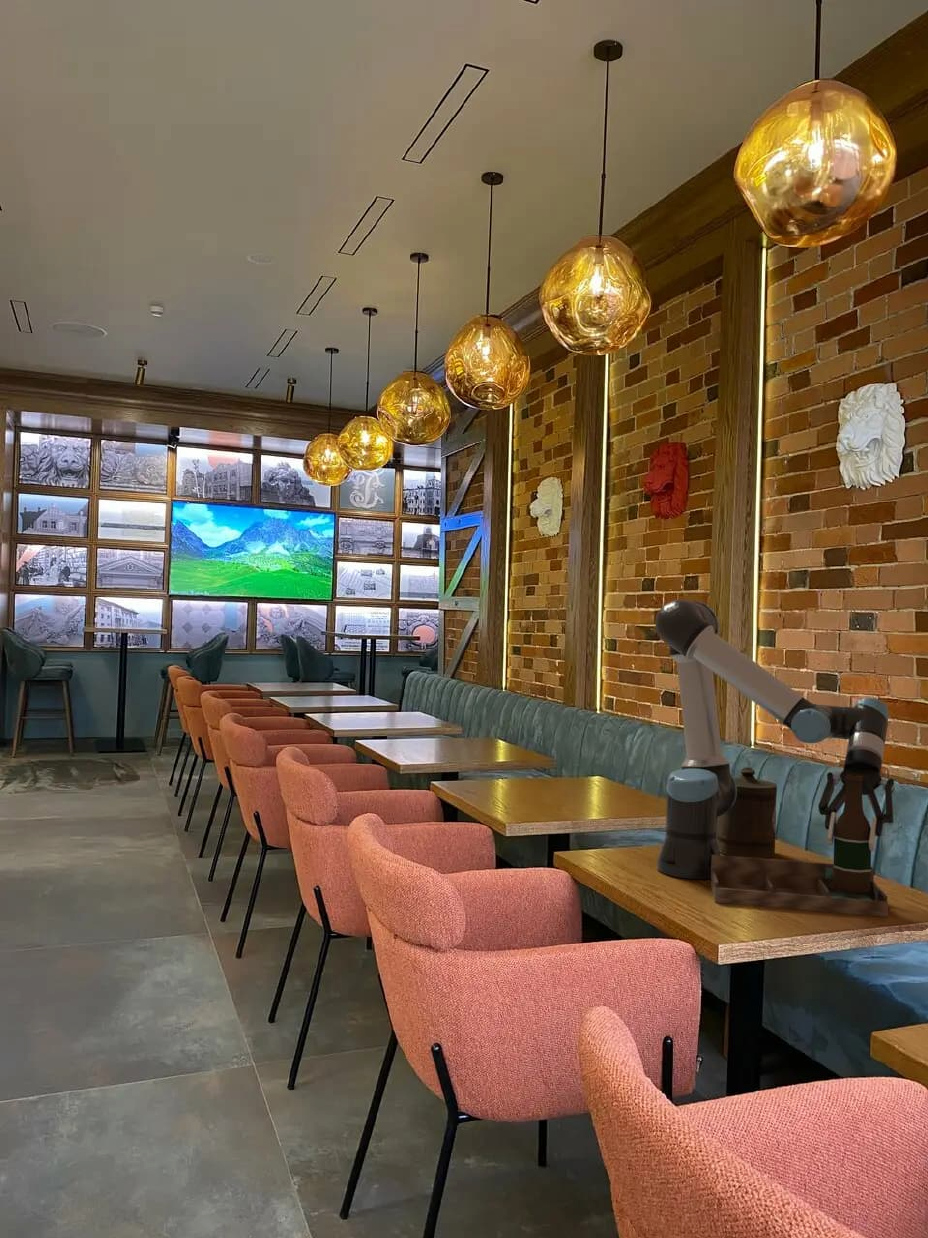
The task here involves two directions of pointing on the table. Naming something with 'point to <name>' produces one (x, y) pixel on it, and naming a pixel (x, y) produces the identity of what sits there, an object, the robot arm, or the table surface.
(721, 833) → the wooden container
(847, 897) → the condiment rack
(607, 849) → the table surface
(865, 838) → the beer bottle
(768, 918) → the table surface
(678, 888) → the table surface
